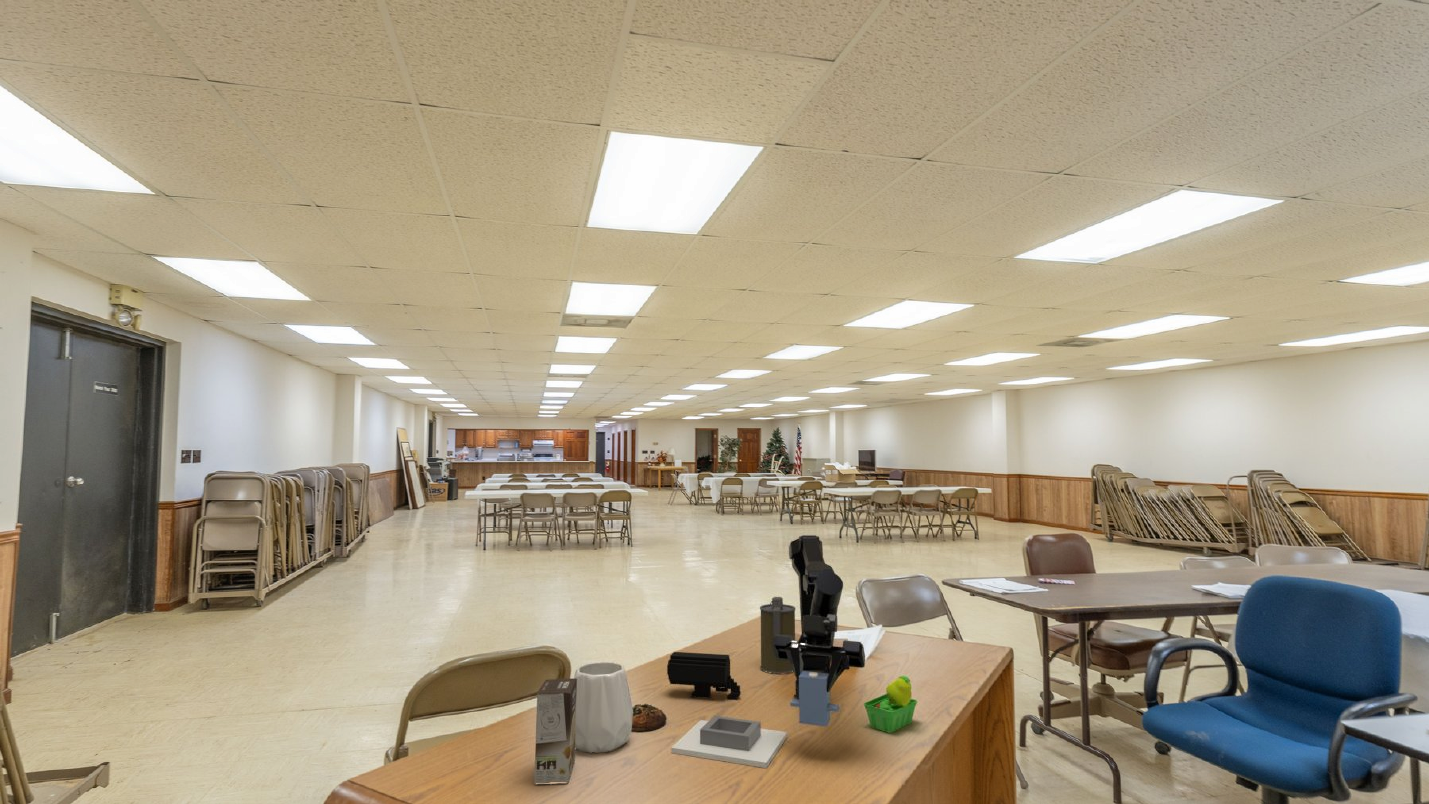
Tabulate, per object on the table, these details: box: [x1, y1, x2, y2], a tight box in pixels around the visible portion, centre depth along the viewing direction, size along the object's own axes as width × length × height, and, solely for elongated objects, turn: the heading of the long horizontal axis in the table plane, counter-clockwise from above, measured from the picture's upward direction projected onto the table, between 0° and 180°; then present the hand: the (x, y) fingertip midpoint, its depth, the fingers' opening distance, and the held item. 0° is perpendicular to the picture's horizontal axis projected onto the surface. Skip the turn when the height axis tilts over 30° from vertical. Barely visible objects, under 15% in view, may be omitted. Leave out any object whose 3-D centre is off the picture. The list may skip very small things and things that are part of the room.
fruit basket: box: [863, 675, 918, 734], centre depth 148 cm, size 11×9×11 cm
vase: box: [573, 661, 633, 754], centre depth 139 cm, size 14×14×15 cm
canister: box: [759, 596, 796, 675], centre depth 191 cm, size 11×10×20 cm
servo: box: [789, 671, 840, 728], centre depth 133 cm, size 10×4×10 cm, turn 70°
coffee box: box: [533, 677, 577, 784], centre depth 125 cm, size 9×6×16 cm
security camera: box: [666, 651, 742, 701], centre depth 168 cm, size 7×18×10 cm, turn 78°
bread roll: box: [631, 703, 668, 732], centre depth 150 cm, size 11×11×5 cm
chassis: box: [670, 715, 788, 769], centre depth 138 cm, size 20×16×4 cm
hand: (813, 689), depth 132 cm, fingers closed on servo, 5 cm apart
